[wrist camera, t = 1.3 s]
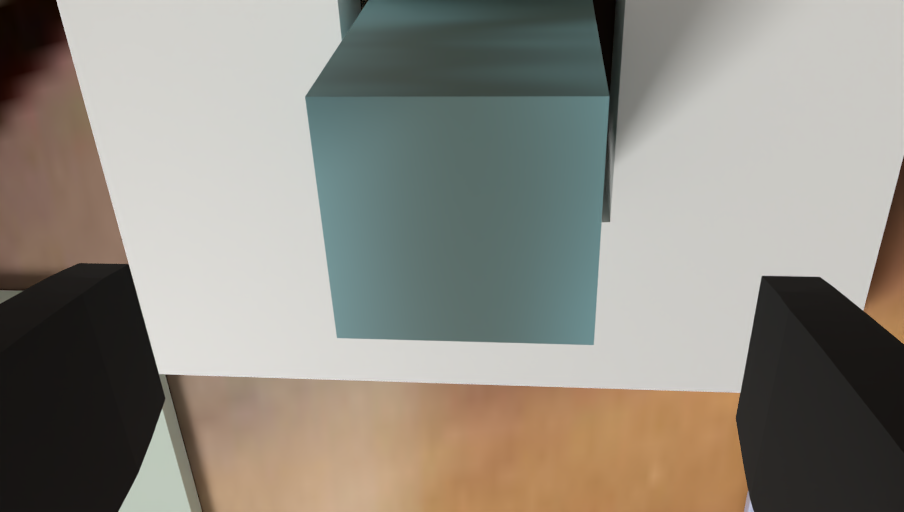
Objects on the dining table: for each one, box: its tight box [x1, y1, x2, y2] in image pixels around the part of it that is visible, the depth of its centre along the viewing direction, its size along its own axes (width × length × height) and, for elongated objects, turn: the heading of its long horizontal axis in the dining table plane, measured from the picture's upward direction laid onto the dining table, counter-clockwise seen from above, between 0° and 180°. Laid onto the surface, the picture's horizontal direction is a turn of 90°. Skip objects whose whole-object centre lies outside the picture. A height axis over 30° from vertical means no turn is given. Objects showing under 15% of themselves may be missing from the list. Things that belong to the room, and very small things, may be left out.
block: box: [305, 0, 609, 345], centre depth 15 cm, size 4×4×7 cm
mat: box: [0, 290, 202, 512], centre depth 25 cm, size 10×10×1 cm
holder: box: [57, 0, 904, 393], centre depth 17 cm, size 16×14×2 cm
